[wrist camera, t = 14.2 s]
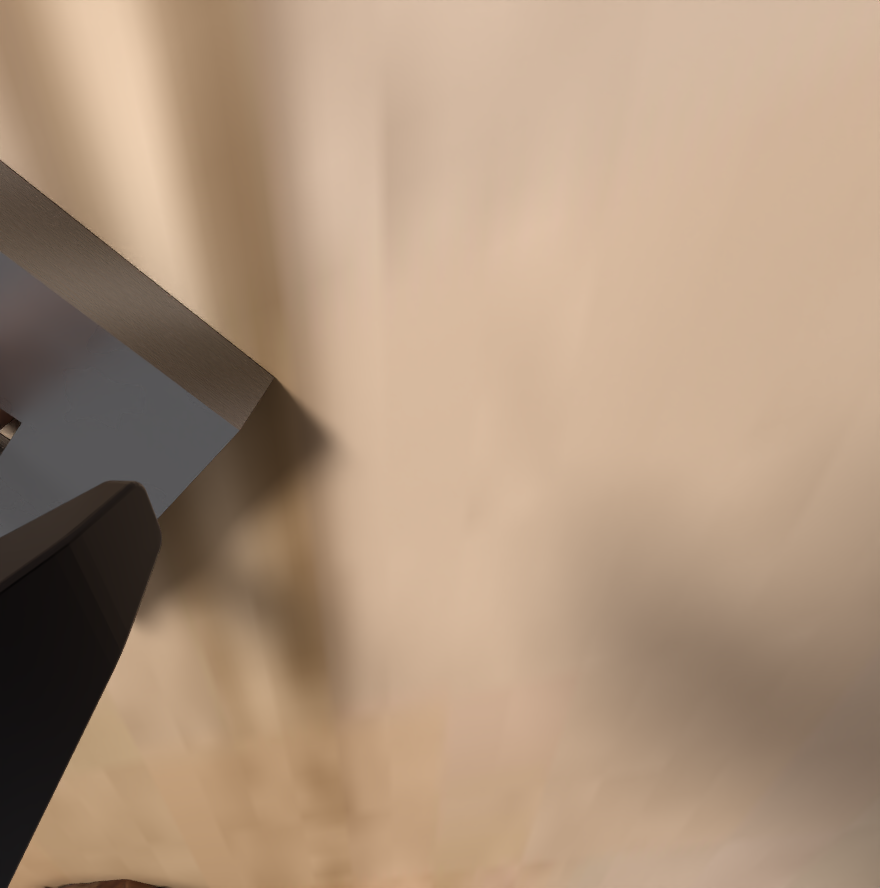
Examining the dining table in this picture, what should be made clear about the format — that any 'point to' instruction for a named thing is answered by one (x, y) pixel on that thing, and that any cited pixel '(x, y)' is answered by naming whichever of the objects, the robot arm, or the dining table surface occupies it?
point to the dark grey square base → (102, 369)
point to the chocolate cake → (111, 884)
